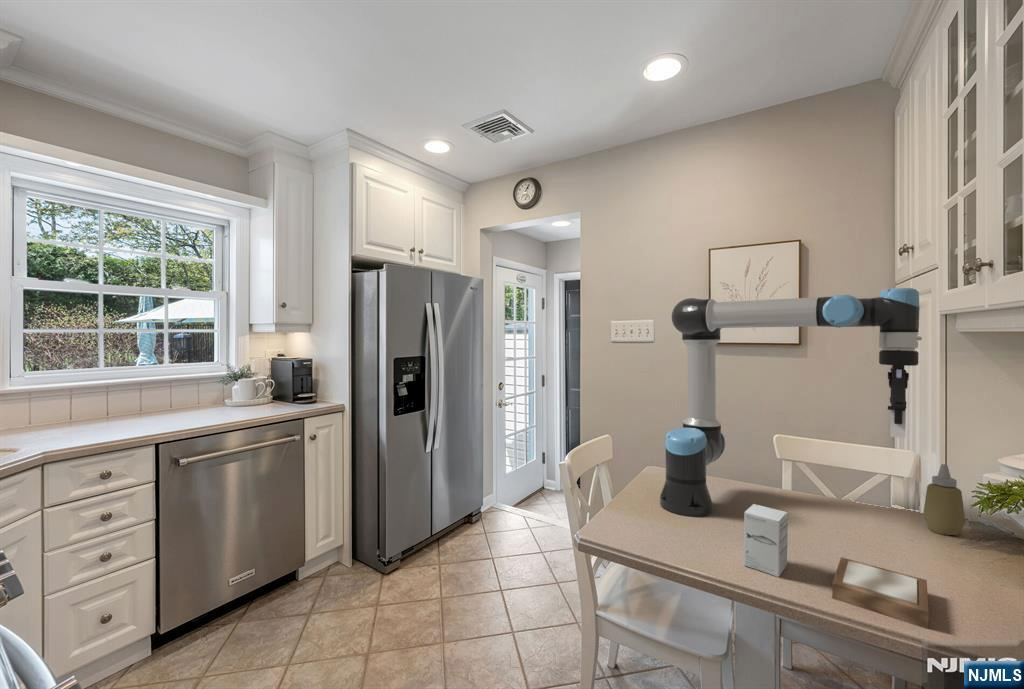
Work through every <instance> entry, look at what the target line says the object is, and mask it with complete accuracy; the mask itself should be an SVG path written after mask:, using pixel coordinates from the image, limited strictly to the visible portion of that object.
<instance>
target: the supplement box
mask: <svg viewBox="0 0 1024 689" xmlns="http://www.w3.org/2000/svg"><path fill="white" fill-rule="evenodd" d="M743 515H744V516H743V518H744V522H743V525H744V527H743V528H744V529H743V531H744V532H743V535H744V536H743V566H745V567H748V568H752V569H754V570H758V571H761V572H764V573H766V574H768V575H769V574H770V575H772V576H774V577H777V578H779V577H780V576H781V574H783V571H784V570H785V569H786V568H787V564H788V529H789V526H788V525H789V524H788V522H789V519H788V518H789V512H787V511H784V510H780V509H776V508H772V507H768V506H763V505H759V504H756V503H753V504H752V505H751V506H750V507H748V508H747V509H746V510H745V511H744V514H743Z"/></svg>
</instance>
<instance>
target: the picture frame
mask: <svg viewBox="0 0 1024 689" xmlns="http://www.w3.org/2000/svg"><path fill="white" fill-rule="evenodd" d="M831 585H832V587H831V588H832V596H831V597H832V599H835V600H838V601H841V602H843V603H845V604H846V603H847V604H850V605H853V606H857V607H859V608H863V609H865V610H868V611H871V612H875V613H878V614H881V615H884V616H887V617H890V618H893V619H897V620H900V621H903V622H906V623H909V624H911V625H915V626H918V627H921V628H924V629H929V612H930V611H929V598H928V581H927V579H925V578H920V577H917V576H913V575H909V574H906V573H901V572H899V571H894V570H891V569H886V568H883V567H879V566H876V565H872V564H868V563H864V562H860V561H857V560H853V559H849V558H846V557H841V556H840V559H839V562H838V564H837V568H836V572H835V575H834V577H833V580H832V584H831Z"/></svg>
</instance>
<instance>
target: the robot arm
mask: <svg viewBox="0 0 1024 689" xmlns="http://www.w3.org/2000/svg"><path fill="white" fill-rule="evenodd" d="M671 321H672V325H673V327H674V328H675V329H676V330H677V331H679V333H682V334H681V335H682V337H681V338H682V339H681V341H682V342H683V343H684V344H685V345H686V347H687V348H686V349H687V350H686V353H687V354H686V355H687V357H686V358H687V359H686V362H687V365H686V368H687V370H686V372H687V374H686V375H687V378H686V380H687V381H686V382H687V417H686V418H685V419H684V420H683V421H682V427H679V428H672V429H671V430H669V431H668V432H667V433H666V436H665V442H664V445H665V447H664V448H665V481H664V484H663V487H662V489H661V493H660V494H659V495H660V496H659V505H660V507H662V508H663V509H664V510H666V511H667V512H671V513H674V514H677V515H681V516H689V517H701V516H707V515H709V514H711V513H713V500H712V496H711V494H710V491H709V488H708V485H707V465H710V464H711V463H713V462H716V461H717V460H718V459H719V458H720V457H721V456H722V455H723V454H724V452H725V448H726V439H725V436H724V434H723V433H722V424H721V422H720V421H719V420H718V419H717V418H716V416H717V410H716V407H717V405H716V400H717V399H716V398H717V397H716V396H717V394H716V392H717V391H716V389H717V388H716V386H717V385H716V384H717V380H716V378H717V377H716V346H717V344H719V342H720V341H721V330H722V329H738V328H795V327H796V328H798V327H799V328H800V327H802V328H803V327H806V328H807V327H824V328H825V327H829V328H839V329H840V328H857V327H860V328H862V327H865V328H866V327H879V333H878V347H879V348H880V349H881V350H880V351H879V352H878V357H879V358H878V363H879V364H880V365H883V366H891V368H890V371H887V379H888V386H889V388H890V397H889V403H890V404H889V405H887V410H889V430H890V438H899V439H906V426H907V424H906V422H907V421H906V420H907V417H906V416H907V414H906V413H907V412H906V410H907V399H906V394H907V393H906V392H907V391H906V390H907V389H908V387H909V385H908V381H909V378H910V376H909V375H910V373H909V372H907V370H906V369H905V367H907V366H908V367H910V366H912V367H914V366H918V365H919V355H920V354H919V352H918V350H916V349H918V348H919V341H923V337H922V336H919V332H920V331H919V330H920V292H919V291H918V290H917V289H916V288H912V287H898V288H888V289H887V288H886V289H882V290H881V291H880V293H879V296H877V297H871V298H870V297H869V298H867V297H866V298H857V297H855V296H853V295H849V294H837V295H834V296H823V297H819V296H817V297H816V296H815V297H799V298H798V297H796V298H779V299H778V298H777V299H760V300H759V299H758V300H756V299H755V300H754V299H753V300H741V301H740V300H739V301H716V300H715V299H713V298H709V299H707V298H705V299H703V298H702V299H701V298H694V297H691V298H690V297H689V298H685V299H682V300H680V301H679V302H678V303H676V305H675V306H674V308H673V309H672V313H671Z"/></svg>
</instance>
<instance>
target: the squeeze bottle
mask: <svg viewBox="0 0 1024 689" xmlns="http://www.w3.org/2000/svg"><path fill="white" fill-rule="evenodd" d="M957 484H958V483H957V479H955V478H953V477H951V473H950V470H949V467H948V464H943V463H942V464H940V467H939V470H938V473H937V475H933V476H932V477H931V483H929V484H928V485H927V486H926V494H925V499H924V505H923V506H924V507H923V512H922V513H923V514H922V515H923V518H924V520H925V522H926V526H927V527H928V529H929V530H930V531H932V532H934V533H936V534H940V535H944V534H945V535H944V536H949V535H958V534H959V535H960V534H961V533H962V532H961V531H962V530H963V528H964V526H965V525H966V516H965V508H964V500H963V492H962V490H961V489H960V488H958V487H957ZM959 535H958V536H959Z"/></svg>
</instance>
